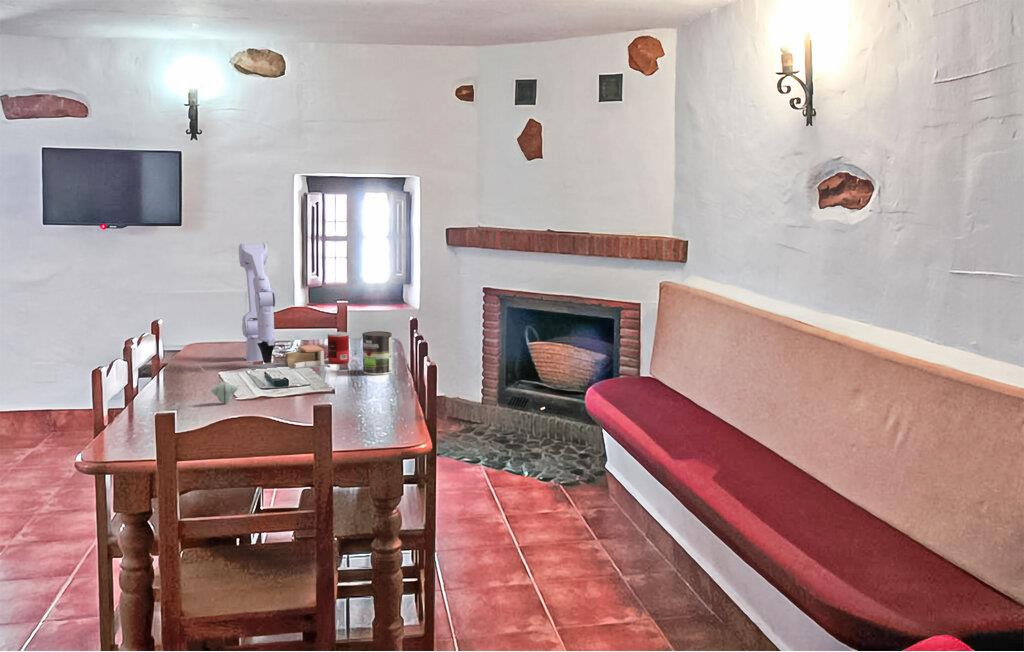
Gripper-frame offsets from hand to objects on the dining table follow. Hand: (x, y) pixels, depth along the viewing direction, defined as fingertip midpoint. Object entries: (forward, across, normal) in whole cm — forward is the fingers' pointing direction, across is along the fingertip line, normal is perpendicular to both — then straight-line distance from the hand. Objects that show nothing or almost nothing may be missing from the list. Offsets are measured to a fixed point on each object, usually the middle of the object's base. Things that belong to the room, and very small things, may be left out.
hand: (267, 362), depth 333 cm
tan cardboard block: (+2, 0, +12) cm, 12 cm away
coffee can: (+3, +24, +33) cm, 41 cm away
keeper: (+2, 0, +7) cm, 8 cm away
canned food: (+3, -1, +27) cm, 27 cm away
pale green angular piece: (+2, +48, -25) cm, 54 cm away
